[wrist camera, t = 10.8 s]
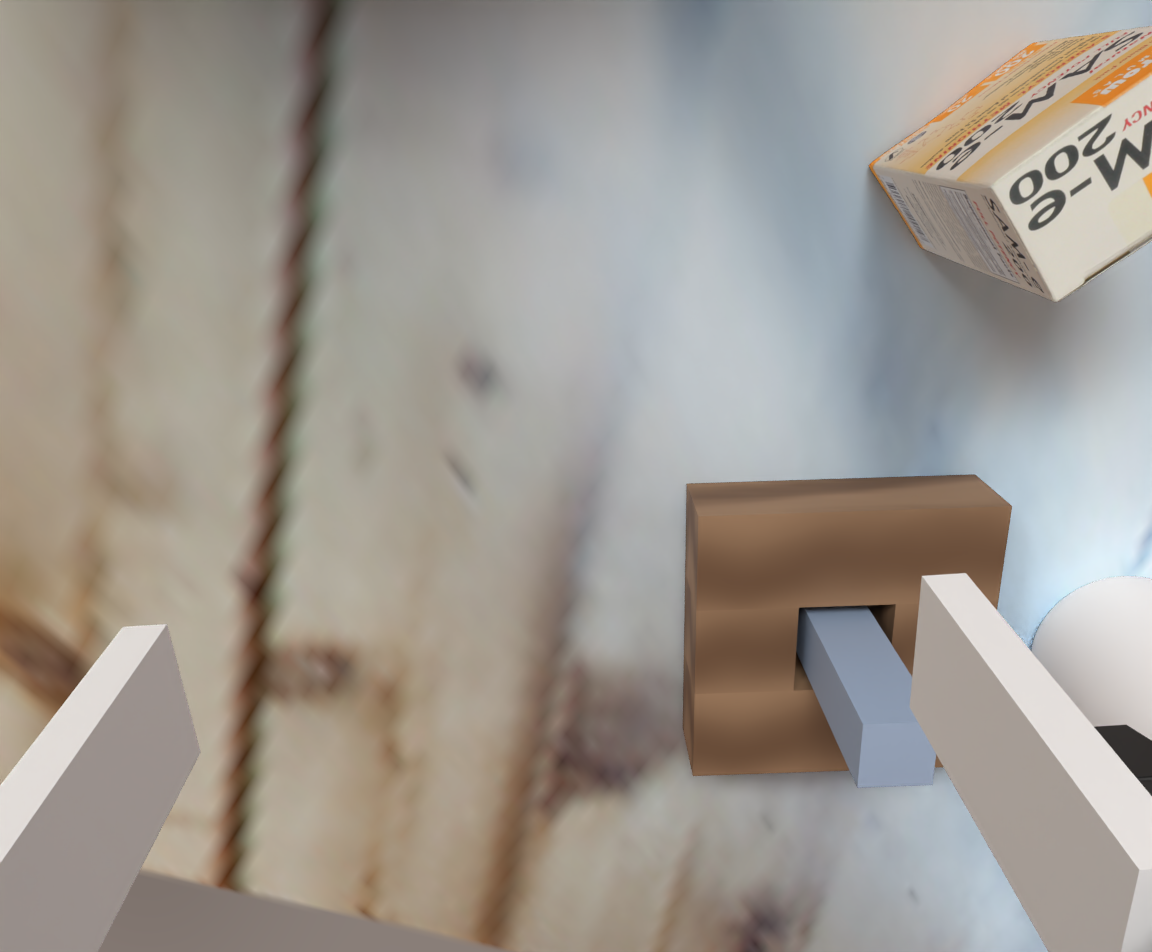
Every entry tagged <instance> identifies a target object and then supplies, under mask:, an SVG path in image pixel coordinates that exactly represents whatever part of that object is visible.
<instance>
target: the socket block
mask: <svg viewBox="0 0 1152 952" xmlns="http://www.w3.org/2000/svg"><path fill="white" fill-rule="evenodd" d="M1011 510H1012V506H1011V505H1010V504H1009V503H1008V502H1006V501H1005V500H1004V499H1003V498H1002V497H1001V496H999V495H998V494H997V493H996V492H995V491H994V490H992V489H991V488H990V487H989V486H988V485H987V484H985V483H984V482H983V481H982V480H981V479H980V478H978V477H977V476H976V475H946V476H915V477H884V478H852V479H821V480H789V481H758V482H727V483H695V484H687V498H686V560H685V622H684V683H683V731H684V736H685V740H686V745H687V750H688V755H689V760H690V764H691V769H692V774H693V776H705V775H733V774H762V773H791V772H819V771H848V770H849V768H848V766H847V764H846V761H845V759H844V757H843V755H842V752H841V750H840V748H839V746H838V744H837V741H836V739H835V737H834V735H833V732H832V730H831V728H830V726H829V724H828V721H827V719H826V717H825V715H824V712H823V710H822V708H821V706H820V703H819V701H818V699H817V697H816V695H815V692H814V690H813V688H812V686H811V683H810V681H809V679H808V677H807V674H806V672H805V670H804V668H803V666H802V663H801V661H800V659H799V657H798V654H797V652H796V646H797V630H798V615H799V608H801V607H831V606H861V605H867V607H868V608H869V610H870V611H871V613H872V615H873V616H874V618H875V619H876V621H877V622H878V624H879V626H880V627H881V629H882V630H883V632H884V633H885V635H886V637H887V638H888V640H889V641H890V643H891V644H892V646H893V648H894V649H895V651H896V652H897V654H898V655H899V657H900V659H901V660H902V662H903V663H904V665H905V667H906V668H907V670H908V671H909V673H910V674H911V676H912V675H913V665H914V654H915V643H916V633H917V622H918V611H919V601H920V590H921V579H922V576H928V575H944V574H959V573H966V574H967V575H968V576H969V577H970V579H971V580H972V581H973V582H974V583H975V585H976V586H977V587H978V588H979V589H980V591H981V592H982V593H983V594H984V595H985V597H986V598H987V599H988V600H989V601H990V603H991V604H992V605H993V606H994V607H995V609H996V610H997V605H998V598H999V591H1000V584H1001V578H1002V571H1003V564H1004V557H1005V550H1006V544H1007V537H1008V530H1009V523H1010V517H1011ZM935 767H943V765H942V763H941V762H940V760H939V758H938V756H937V755H936V760H935Z"/></svg>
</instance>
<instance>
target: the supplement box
mask: <svg viewBox="0 0 1152 952" xmlns="http://www.w3.org/2000/svg"><path fill="white" fill-rule="evenodd" d="M869 168H870V169H871V171H872V173H873V174H874V176H875V177H876V179H877V180H878V182H879V183H880V185H881V186H882V188H883V189H884V191H885V192H886V194H887V195H888V197H889V198H890V200H891V201H892V203H893V204H894V206H895V208H896V209H897V211H898V212H899V214H900V215H901V217H902V219H903V220H904V222H905V224H906V225H907V226H908V228H909V230H910V231H911V233H912V234H913V236H914V238H915V240H916V241H917V243H918V245H919V246H920V247H921V248H922V249H924V250H927V251H929V252H931V253H934V254H937V255H939V256H941V257H944V258H947V259H949V260H951V261H954V262H956V263H959V264H961V265H964V266H966V267H969V268H971V269H974V270H977V271H979V272H981V273H984V274H987V275H989V276H992V277H994V278H997V279H999V280H1001V281H1004V282H1007V283H1009V284H1012V285H1014V286H1016V287H1019V288H1022V289H1024V290H1027V291H1029V292H1032V293H1034V294H1037V295H1039V296H1042V297H1044V298H1046V299H1049V300H1051V301H1053V302H1059V301H1061V300H1062V299H1064V298H1065V297H1067V296H1069V295H1070V294H1071V293H1073V292H1075V291H1076V290H1078V289H1080V288H1081V287H1083V286H1084V285H1086V284H1087V283H1088V282H1090V281H1091V280H1093V279H1094V278H1095V277H1097V276H1098V275H1100V274H1101V273H1103V272H1104V271H1106V270H1107V269H1109V268H1110V267H1112V266H1114V265H1115V264H1117V263H1118V262H1120V261H1121V260H1123V259H1125V258H1126V257H1128V256H1129V255H1131V254H1133V253H1134V252H1136V251H1137V250H1138V249H1140V248H1141V247H1143V246H1145V245H1146V244H1148V243H1149V242H1150V241H1152V26H1148V27H1139V28H1133V29H1128V30H1120V31H1113V32H1106V33H1099V34H1092V35H1086V36H1078V37H1069V38H1064V39H1056V40H1050V41H1042V42H1036V43H1032V44H1031V45H1029V46H1028V47H1027V48H1025V49H1024V50H1022V51H1021V52H1019V53H1018V54H1017V55H1016V56H1014V57H1013V58H1012V59H1010V60H1009V61H1008V62H1006V63H1005V64H1004V65H1003V66H1001V67H1000V68H999V69H997V70H996V71H995V72H993V73H992V74H991V75H990V76H988V77H987V78H986V79H984V80H983V81H982V82H981V83H979V84H978V85H977V86H975V87H974V88H973V89H972V90H970V91H969V92H968V93H967V94H965V95H964V96H963V97H962V98H960V99H959V100H958V101H956V102H955V103H954V104H953V105H951V106H950V107H949V108H948V109H946V110H945V111H944V112H942V113H941V114H940V115H938V116H937V117H936V118H934V119H933V120H931V121H930V122H929V123H927V124H926V125H925V126H923V127H922V128H920V129H919V130H917V131H916V132H914V133H913V134H912V135H910V136H908V137H907V138H905V139H904V140H903V141H901V142H900V143H898V144H897V145H895V146H894V147H892V148H891V149H890V150H888V151H887V152H885V153H884V154H882V155H881V156H880V157H878V158H877V159H876V160H874V161H873V162H872V163H871V164H870V165H869Z"/></svg>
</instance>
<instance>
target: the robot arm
mask: <svg viewBox="0 0 1152 952" xmlns="http://www.w3.org/2000/svg"><path fill="white" fill-rule="evenodd" d="M910 709H911V710H912V712H913V714H914V716H915V718H916V719H917V721H918V723H919V725H920V726H921V728H922V730H923V732H924V733H925V735H926V737H927V739H928V740H929V742H930V744H931V746H932V747H933V749H934V751H935V753H936V755H937V756H938V758H939V760H940V762H941V763H942V765H943V767H944V769H945V770H946V772H947V774H948V776H949V777H950V779H951V781H952V783H953V784H954V786H955V788H956V790H957V792H958V793H959V795H960V797H961V799H962V800H963V802H964V804H965V806H966V807H967V809H968V811H969V813H970V814H971V816H972V818H973V820H974V822H975V823H976V825H977V827H978V829H979V830H980V832H981V834H982V836H983V837H984V839H985V841H986V843H987V844H988V846H989V848H990V850H991V851H992V853H993V855H994V857H995V859H996V860H997V862H998V864H999V866H1000V867H1001V869H1002V871H1003V873H1004V874H1005V876H1006V878H1007V880H1008V881H1009V883H1010V885H1011V887H1012V888H1013V890H1014V892H1015V894H1016V896H1017V897H1018V899H1019V901H1020V903H1021V904H1022V906H1023V908H1024V910H1025V911H1026V913H1027V915H1028V917H1029V918H1030V920H1031V922H1032V924H1033V925H1034V927H1035V929H1036V931H1037V933H1038V934H1039V936H1040V938H1041V940H1042V941H1043V943H1044V945H1045V947H1046V948H1047V950H1048V952H1152V740H1150V739H1148V738H1147V737H1145V736H1144V735H1142V734H1141V733H1139V732H1137V731H1136V730H1134V729H1133V728H1131V727H1129V726H1128V725H1112V726H1096V727H1094V726H1093V725H1092V724H1091V723H1090V722H1089V720H1088V719H1087V718H1086V717H1085V716H1084V714H1083V713H1082V712H1081V711H1080V710H1079V708H1078V707H1077V706H1076V705H1075V704H1074V702H1073V701H1072V700H1071V699H1070V698H1069V696H1068V695H1067V694H1066V693H1065V692H1064V690H1063V689H1062V688H1061V687H1060V686H1059V684H1058V683H1057V682H1056V681H1055V680H1054V678H1053V677H1052V676H1051V675H1050V674H1049V672H1048V671H1047V670H1046V669H1045V668H1044V666H1043V665H1042V664H1041V663H1040V662H1039V660H1038V659H1037V658H1036V657H1035V656H1034V654H1033V653H1032V652H1031V651H1030V650H1029V648H1028V647H1027V646H1026V645H1025V644H1024V642H1023V641H1022V640H1021V639H1020V638H1019V636H1018V635H1017V634H1016V633H1015V631H1014V630H1013V629H1012V628H1011V627H1010V625H1009V624H1008V623H1007V622H1006V621H1005V619H1004V618H1003V617H1002V616H1001V615H1000V613H999V612H998V611H997V610H996V609H995V607H994V606H993V605H992V604H991V603H990V601H989V600H988V599H987V598H986V597H985V595H984V594H983V593H982V592H981V591H980V589H979V588H978V587H977V586H976V585H975V583H974V582H973V581H972V580H971V579H970V577H969V576H968V575H967V574H966V573H959V574H944V575H928V576H922V579H921V590H920V601H919V611H918V622H917V633H916V643H915V654H914V665H913V675H912V686H911V696H910ZM199 754H200V748H199V744H198V740H197V736H196V733H195V729H194V725H193V721H192V717H191V714H190V710H189V706H188V702H187V698H186V695H185V691H184V687H183V683H182V679H181V676H180V672H179V668H178V664H177V660H176V656H175V653H174V649H173V645H172V641H171V637H170V634H169V630H168V626H167V624H160V625H144V626H128V627H122V629H121V630H120V631H119V633H118V634H117V635H116V636H115V638H114V639H113V640H112V642H111V643H110V644H109V646H108V647H107V648H106V649H105V651H104V652H103V653H102V655H101V656H100V657H99V658H98V660H97V661H96V662H95V664H94V665H93V666H92V668H91V669H90V670H89V671H88V673H87V674H86V675H85V677H84V678H83V679H82V680H81V682H80V683H79V684H78V686H77V687H76V688H75V690H74V691H73V692H72V693H71V695H70V696H69V697H68V699H67V700H66V701H65V702H64V704H63V705H62V706H61V708H60V709H59V710H58V711H57V713H56V714H55V715H54V717H53V718H52V719H51V721H50V722H49V723H48V724H47V726H46V727H45V728H44V730H43V731H42V732H41V733H40V735H39V736H38V737H37V739H36V740H35V741H34V743H33V744H32V745H31V746H30V748H29V749H28V750H27V752H26V753H25V754H24V755H23V757H22V758H21V759H20V761H19V762H18V763H17V765H16V766H15V767H14V768H13V770H12V771H11V772H10V774H9V775H8V776H7V777H6V779H5V780H4V781H3V783H2V784H1V785H0V952H98V950H99V948H100V946H101V944H102V942H103V941H104V939H105V937H106V935H107V933H108V931H109V929H110V927H111V925H112V923H113V921H114V919H115V917H116V915H117V913H118V911H119V909H120V908H121V906H122V903H123V902H124V900H125V898H126V896H127V894H128V892H129V890H130V888H131V886H132V884H133V882H134V880H135V879H136V877H137V875H138V873H139V871H140V869H141V867H142V865H143V863H144V861H145V859H146V857H147V855H148V853H149V851H150V849H151V847H152V846H153V844H154V842H155V840H156V838H157V836H158V834H159V832H160V830H161V828H162V826H163V824H164V822H165V820H166V818H167V816H168V815H169V813H170V811H171V809H172V807H173V805H174V803H175V801H176V799H177V797H178V795H179V793H180V791H181V789H182V787H183V785H184V783H185V782H186V780H187V778H188V776H189V774H190V772H191V770H192V768H193V766H194V764H195V762H196V760H197V758H198V756H199Z"/></svg>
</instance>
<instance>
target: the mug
mask: <svg viewBox="0 0 1152 952" xmlns="http://www.w3.org/2000/svg"><path fill="white" fill-rule="evenodd" d="M1031 652H1032V653H1033V654H1034V656H1035V657H1036V658H1037V659H1038V660H1039V662H1040V663H1041V664H1042V665H1043V666H1044V668H1045V669H1046V670H1047V671H1048V672H1049V674H1050V675H1051V676H1052V677H1053V678H1054V680H1055V681H1056V682H1057V683H1058V684H1059V686H1060V687H1061V688H1062V689H1063V690H1064V692H1065V693H1066V694H1067V695H1068V696H1069V698H1070V699H1071V700H1072V701H1073V702H1074V704H1075V705H1076V706H1077V707H1078V708H1079V710H1080V711H1081V712H1082V713H1083V714H1084V716H1085V717H1086V718H1087V719H1088V720H1089V722H1090V723H1091V724H1092V725H1093V726H1094V727H1096V726H1112V725H1128V726H1129V727H1131V728H1133V729H1134V730H1136V731H1137V732H1139V733H1141V734H1142V735H1144V736H1145V737H1147V738H1148V739H1150V740H1152V579H1149V578H1146V577H1138V576H1118V577H1109V578H1105V579H1101V580H1097V581H1094V582H1091V583H1089V584H1087V585H1084V586H1082V587H1080V588H1078V589H1077V590H1075V591H1073V592H1071V593H1070V594H1068V595H1067V596H1066V597H1064V598H1063V599H1062V600H1061V601H1060V602H1058V603H1057V604H1056V605H1055V606H1054V607H1053V608H1052V609H1051V611H1050V612H1049V613H1048V614H1047V615H1046V617H1045V618H1044V620H1043V621H1042V623H1041V624H1040V626H1039V628H1038V630H1037V632H1036V635H1035V637H1034V640H1033V644H1032V649H1031Z"/></svg>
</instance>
